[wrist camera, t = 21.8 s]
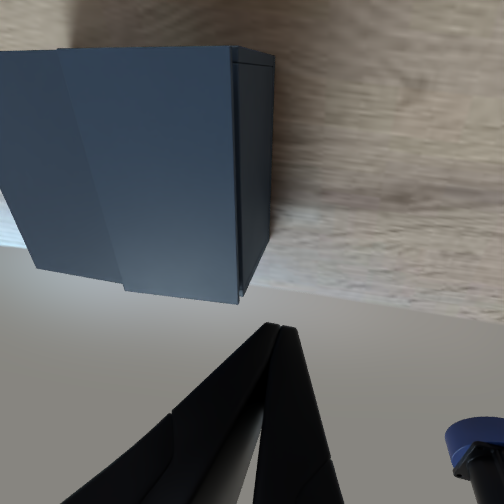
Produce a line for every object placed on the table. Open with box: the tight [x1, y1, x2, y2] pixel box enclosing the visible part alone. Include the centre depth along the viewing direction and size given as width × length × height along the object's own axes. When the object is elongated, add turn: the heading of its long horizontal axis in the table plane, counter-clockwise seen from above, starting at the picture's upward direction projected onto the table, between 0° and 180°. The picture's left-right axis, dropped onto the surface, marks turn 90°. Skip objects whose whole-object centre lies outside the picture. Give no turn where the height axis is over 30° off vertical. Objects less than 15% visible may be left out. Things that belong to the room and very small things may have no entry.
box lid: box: [57, 46, 239, 305], centre depth 13 cm, size 6×11×1 cm, turn 0°
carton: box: [0, 45, 275, 297], centre depth 17 cm, size 13×11×7 cm
